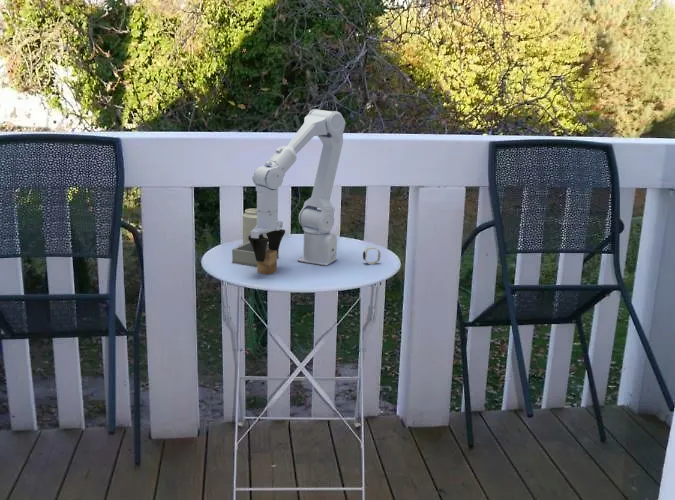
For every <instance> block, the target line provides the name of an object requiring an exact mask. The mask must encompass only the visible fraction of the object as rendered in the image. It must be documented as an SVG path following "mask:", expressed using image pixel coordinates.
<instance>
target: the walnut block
mask: <svg viewBox="0 0 675 500" xmlns="http://www.w3.org/2000/svg"><path fill="white" fill-rule="evenodd" d="M277 261H278V258H277V251H276V250H269V249H266V252H265V259H264V262H260V261H257V267H256V268H257V270H256V271H257V273H258V274H264V275H269V276H270V275H272V274H275V272H276V273H277V271H278V262H277Z"/></svg>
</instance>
